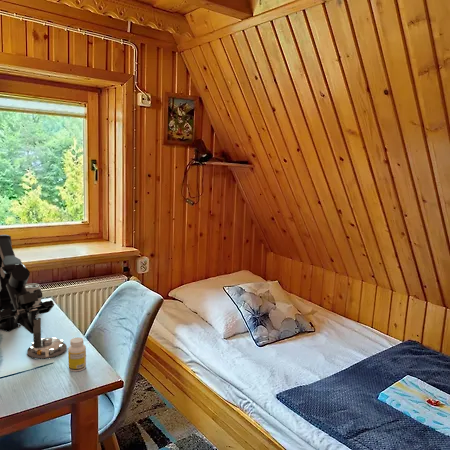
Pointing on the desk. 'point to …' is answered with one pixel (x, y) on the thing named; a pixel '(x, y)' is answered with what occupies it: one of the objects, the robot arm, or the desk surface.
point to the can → (31, 288)
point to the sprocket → (43, 340)
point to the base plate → (47, 353)
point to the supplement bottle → (77, 355)
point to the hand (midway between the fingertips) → (33, 333)
